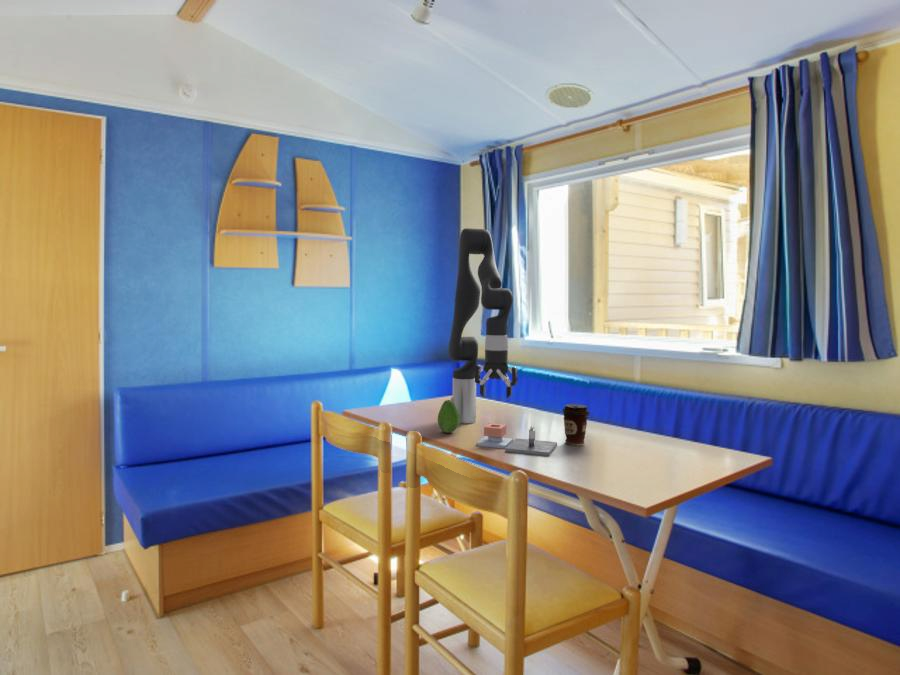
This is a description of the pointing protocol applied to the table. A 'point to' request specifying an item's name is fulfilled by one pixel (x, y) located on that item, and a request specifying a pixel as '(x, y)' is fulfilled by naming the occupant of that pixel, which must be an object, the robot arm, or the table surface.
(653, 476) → the table surface
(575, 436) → the coffee cup
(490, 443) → the stand
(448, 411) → the avocado
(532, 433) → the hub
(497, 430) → the salmon square frame
